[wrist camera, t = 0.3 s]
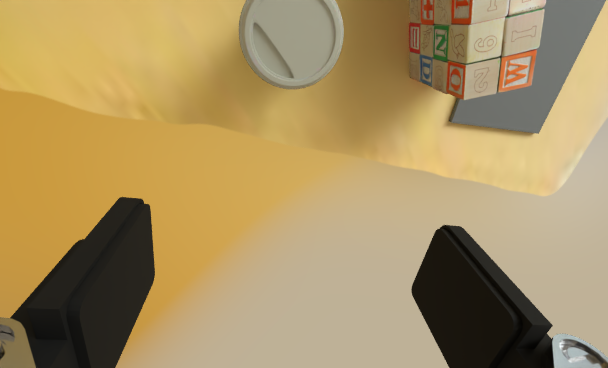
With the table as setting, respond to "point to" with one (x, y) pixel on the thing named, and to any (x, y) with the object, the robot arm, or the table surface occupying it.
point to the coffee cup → (291, 40)
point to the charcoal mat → (537, 72)
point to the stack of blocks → (474, 44)
